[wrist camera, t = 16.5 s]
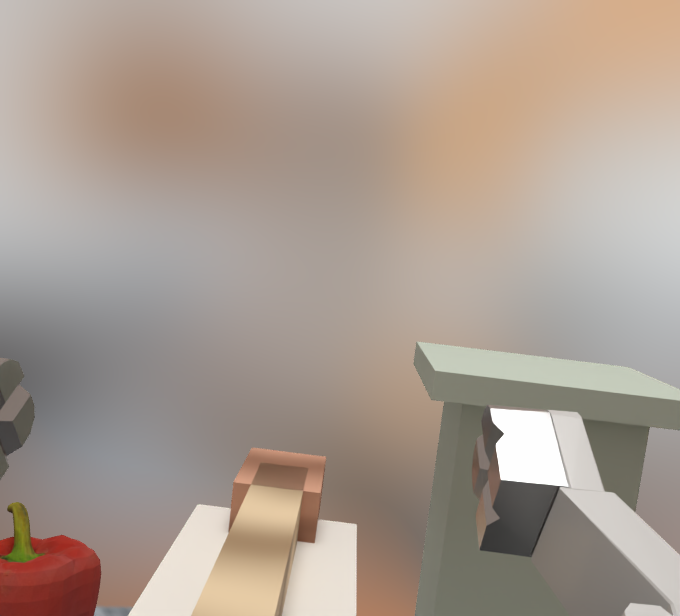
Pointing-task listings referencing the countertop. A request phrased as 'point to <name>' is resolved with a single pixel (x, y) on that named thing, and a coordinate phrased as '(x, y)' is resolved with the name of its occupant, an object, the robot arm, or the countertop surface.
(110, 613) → the countertop surface
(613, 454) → the shelf stand
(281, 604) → the bar
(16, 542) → the vegetable
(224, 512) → the rest block
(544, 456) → the robot arm
